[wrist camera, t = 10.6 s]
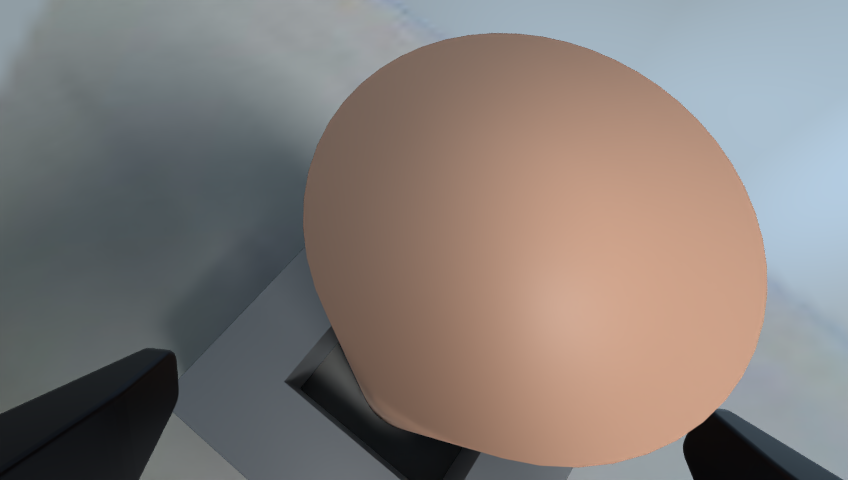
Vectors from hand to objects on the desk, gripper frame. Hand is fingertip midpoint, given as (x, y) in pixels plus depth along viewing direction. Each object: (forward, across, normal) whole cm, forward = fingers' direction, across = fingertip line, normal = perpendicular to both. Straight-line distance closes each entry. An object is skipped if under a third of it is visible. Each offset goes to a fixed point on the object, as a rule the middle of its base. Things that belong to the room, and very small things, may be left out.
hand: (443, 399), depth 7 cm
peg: (+8, 0, +6) cm, 10 cm away
